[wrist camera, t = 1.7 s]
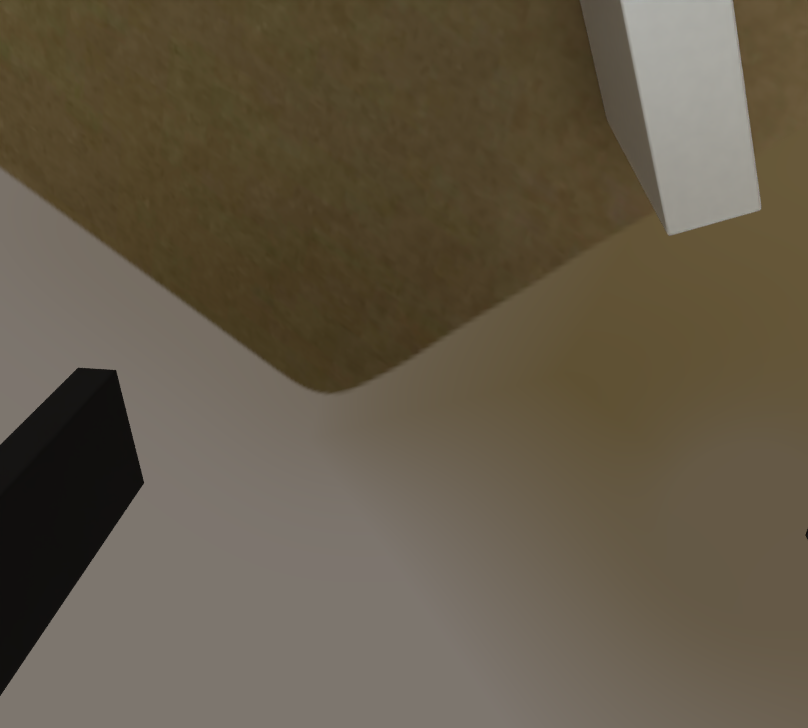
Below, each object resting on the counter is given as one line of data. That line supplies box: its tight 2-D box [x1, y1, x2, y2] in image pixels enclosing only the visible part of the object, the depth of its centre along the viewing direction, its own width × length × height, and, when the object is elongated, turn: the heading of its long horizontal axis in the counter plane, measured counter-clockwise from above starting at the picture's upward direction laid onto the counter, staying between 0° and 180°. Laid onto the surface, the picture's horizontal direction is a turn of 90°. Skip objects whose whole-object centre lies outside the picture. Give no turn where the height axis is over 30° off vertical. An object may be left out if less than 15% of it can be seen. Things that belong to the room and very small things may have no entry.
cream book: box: [580, 0, 761, 235], centre depth 24 cm, size 2×9×15 cm, turn 20°
